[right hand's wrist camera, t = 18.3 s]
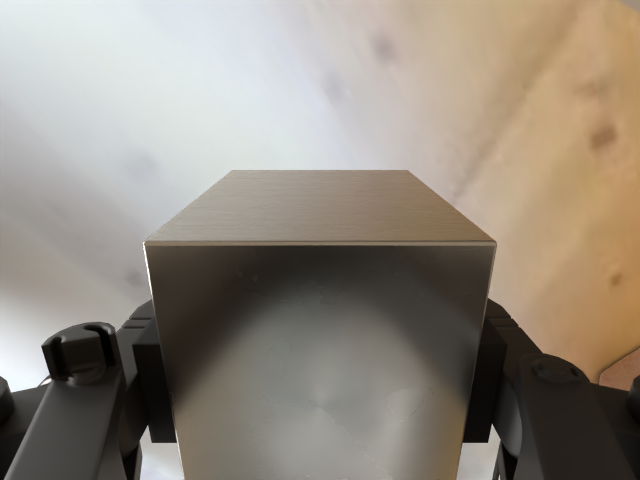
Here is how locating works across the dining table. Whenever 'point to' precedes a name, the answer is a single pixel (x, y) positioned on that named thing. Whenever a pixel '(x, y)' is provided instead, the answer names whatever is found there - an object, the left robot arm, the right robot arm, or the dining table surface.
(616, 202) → the dining table surface
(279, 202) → the metallic grey cube
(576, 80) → the dining table surface
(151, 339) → the right robot arm
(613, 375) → the stone
